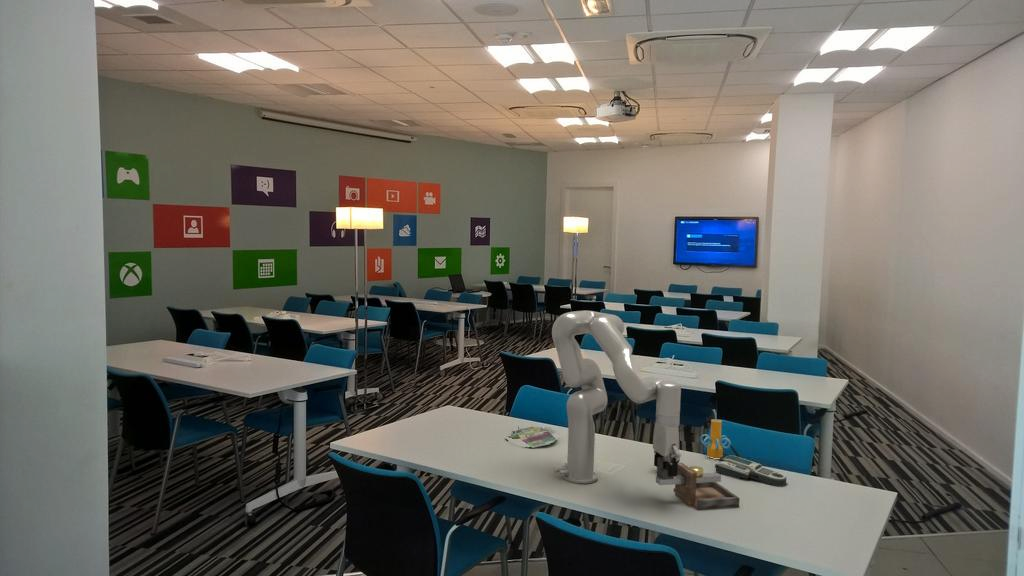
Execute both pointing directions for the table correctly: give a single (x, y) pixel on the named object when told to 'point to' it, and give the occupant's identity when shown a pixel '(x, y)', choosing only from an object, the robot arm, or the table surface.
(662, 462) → the grey sliding bolt
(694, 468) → the gold dome
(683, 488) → the guide frame
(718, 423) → the orange vase with handles
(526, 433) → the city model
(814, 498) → the table surface
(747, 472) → the communication device
